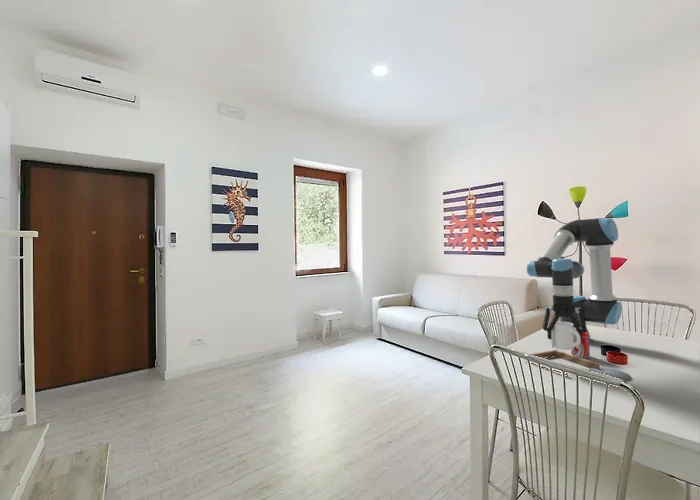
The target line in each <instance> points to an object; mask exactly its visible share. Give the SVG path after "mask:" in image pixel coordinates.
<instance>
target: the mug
mask: <svg viewBox="0 0 700 500" xmlns="http://www.w3.org/2000/svg"><path fill="white" fill-rule="evenodd" d="M552 332H553V333H554V348H555V349H557V350H558V349H559V350H564V351H567V350H570V351H571V349H573V348H574V347H576V346H578V345H579V344H580V341H581V338H580V335H579V333H578V332H577V331H576V330H574V324H573V323H570V322H563V321H561V320H560V321H559V320H557V322H556V324H555V326H554V328H553V329H552ZM574 334H575V335H576V337H577V342H576V343H574Z"/></svg>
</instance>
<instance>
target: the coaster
mask: <svg viewBox="0 0 700 500" xmlns="http://www.w3.org/2000/svg"><path fill="white" fill-rule="evenodd" d="M590 371H594V372H598V373H601V374H604V373H605V375H609V376H612V377H616V378H619V379H621V380H624V381H623V382H629V381H631V380H632V378H631V375H630V374H629V373H627V372H625V371H622V370H619V369H615V368H612V367H611V368H610V367H600V369H595V368H592V369H591V368H589V372H590Z"/></svg>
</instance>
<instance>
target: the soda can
mask: <svg viewBox="0 0 700 500" xmlns="http://www.w3.org/2000/svg"><path fill="white" fill-rule="evenodd" d="M580 329H581V327H580ZM586 329H587V331H586V332H583V333H582V340H581V341H580V344H579V349H577V348H576V347H574V348H573V349H571V350H570V351H571V352H570V353H571V354H570V355H573V356H576V357H579V358H582V359H588V358H589V357H590V356H591V355H590V353H591V350H590V349H591V348H590V347H591V346H590V345H591V344H590V342H591V340H590V341H589V335H590V331H589V329H588V327H587V328H586ZM574 330H576V328H575V327H574ZM576 331H577V330H576ZM574 343H575V334H574Z"/></svg>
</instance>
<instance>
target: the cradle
mask: <svg viewBox="0 0 700 500" xmlns="http://www.w3.org/2000/svg"><path fill="white" fill-rule="evenodd" d="M529 354H530V355H534V356H538V357H542V358H545V357H551V358H553V357H552V356H557V358H559V357H560V358H559V359H562V360H566V361H568V362H571V363H574V364H577V365H580V366H583V367H586V368H588V369H591V368H595V369H600V363H597V362H594V361H592V360H588V359H586V358H579V357H576V356H573V355H572V354H570V353H566V352H563V351H561V350H558V349H553V350H549V351H548V350H547V351H541V352H535V353H529ZM530 364H531V365H534V366H536V367H538V366H537V365H536V364H534V363H530ZM544 368H546V367H543V366H542V369H544ZM546 369H547V370H546ZM546 369H545V370H546V371H549V369H548V368H546ZM553 371H556V370H553ZM556 372H559V371H556ZM559 373H561V372H559ZM565 375H567V376H568V377H569V373H568V374H567V373H566V374H565Z"/></svg>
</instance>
